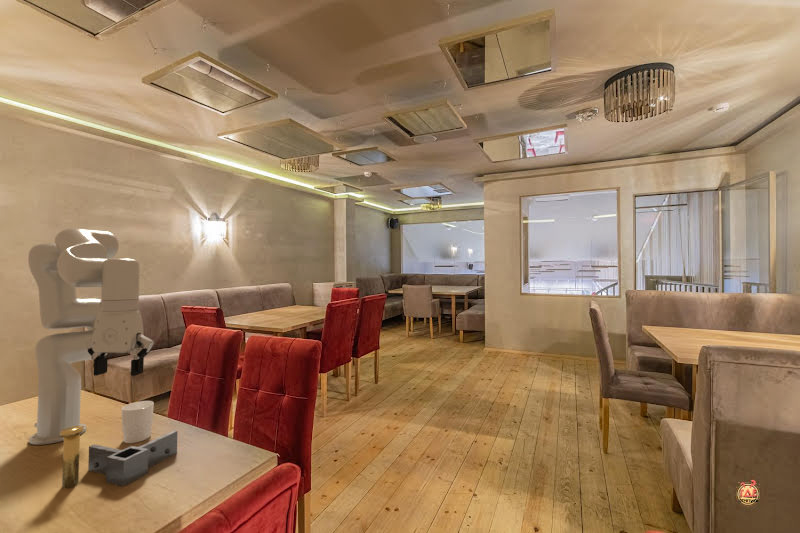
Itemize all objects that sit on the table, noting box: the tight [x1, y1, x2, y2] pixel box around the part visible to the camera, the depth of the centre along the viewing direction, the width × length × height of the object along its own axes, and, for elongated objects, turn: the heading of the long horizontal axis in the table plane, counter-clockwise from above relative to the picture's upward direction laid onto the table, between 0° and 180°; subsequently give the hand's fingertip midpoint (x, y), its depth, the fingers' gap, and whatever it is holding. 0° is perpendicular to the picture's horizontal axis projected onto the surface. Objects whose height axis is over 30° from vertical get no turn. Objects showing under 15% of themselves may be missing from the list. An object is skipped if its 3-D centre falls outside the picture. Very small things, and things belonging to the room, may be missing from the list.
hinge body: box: [87, 430, 178, 487], centre depth 91 cm, size 16×16×6 cm
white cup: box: [121, 400, 155, 444], centre depth 106 cm, size 8×8×10 cm
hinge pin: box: [60, 426, 84, 489], centre depth 82 cm, size 4×4×13 cm
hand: (118, 374), depth 88 cm, fingers open, 9 cm apart
